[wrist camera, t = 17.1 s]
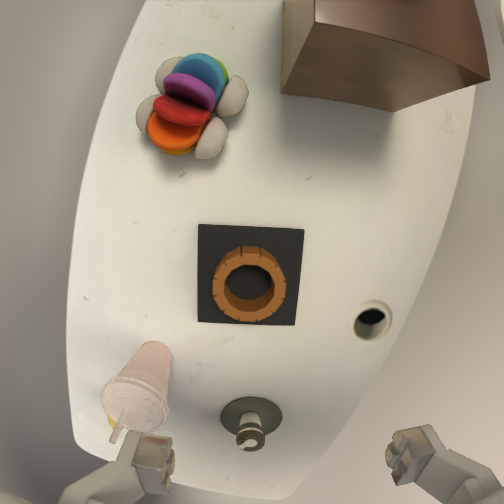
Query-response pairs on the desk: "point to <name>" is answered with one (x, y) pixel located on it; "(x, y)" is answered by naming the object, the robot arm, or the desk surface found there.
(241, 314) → the grooved wooden ring
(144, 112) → the rainbow disc roller toy
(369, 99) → the tape stand
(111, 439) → the smoothie
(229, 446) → the desk surface
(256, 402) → the coffee cup
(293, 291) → the mat
